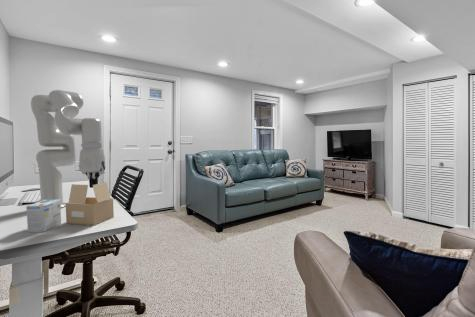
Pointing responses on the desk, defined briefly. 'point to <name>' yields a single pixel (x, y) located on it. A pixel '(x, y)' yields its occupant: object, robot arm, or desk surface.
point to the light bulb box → (43, 215)
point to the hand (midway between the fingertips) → (93, 187)
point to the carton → (89, 212)
